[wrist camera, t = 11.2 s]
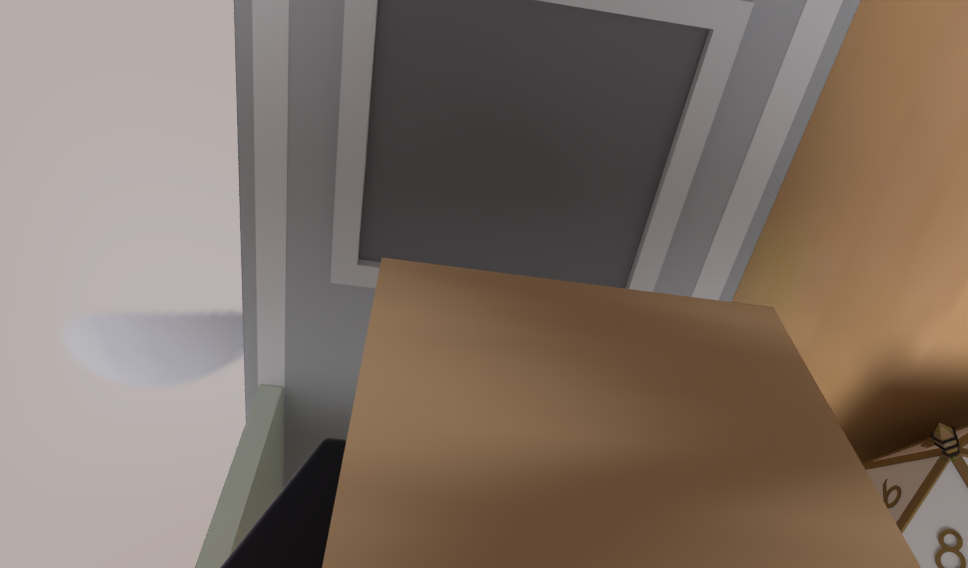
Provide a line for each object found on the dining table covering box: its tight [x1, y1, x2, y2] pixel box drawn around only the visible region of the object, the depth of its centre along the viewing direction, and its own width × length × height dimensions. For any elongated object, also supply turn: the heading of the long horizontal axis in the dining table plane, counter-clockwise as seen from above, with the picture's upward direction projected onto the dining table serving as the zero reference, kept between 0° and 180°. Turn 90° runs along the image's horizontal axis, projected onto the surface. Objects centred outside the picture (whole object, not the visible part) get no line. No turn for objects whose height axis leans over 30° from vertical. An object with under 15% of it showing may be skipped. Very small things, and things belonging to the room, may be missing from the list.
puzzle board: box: [234, 0, 861, 491], centre depth 18 cm, size 12×24×1 cm, turn 171°
